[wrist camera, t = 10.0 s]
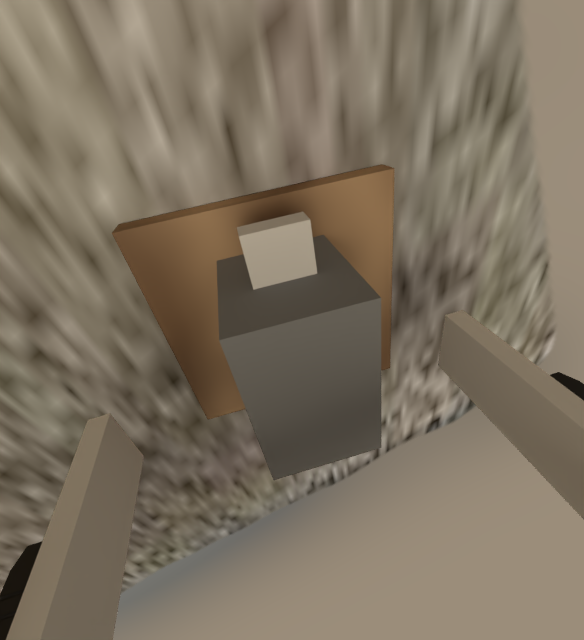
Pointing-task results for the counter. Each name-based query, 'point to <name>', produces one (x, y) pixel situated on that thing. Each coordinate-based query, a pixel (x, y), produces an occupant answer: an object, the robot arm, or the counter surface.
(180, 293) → the walnut board
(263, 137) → the counter surface
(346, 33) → the counter surface
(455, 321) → the robot arm
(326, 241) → the plug
